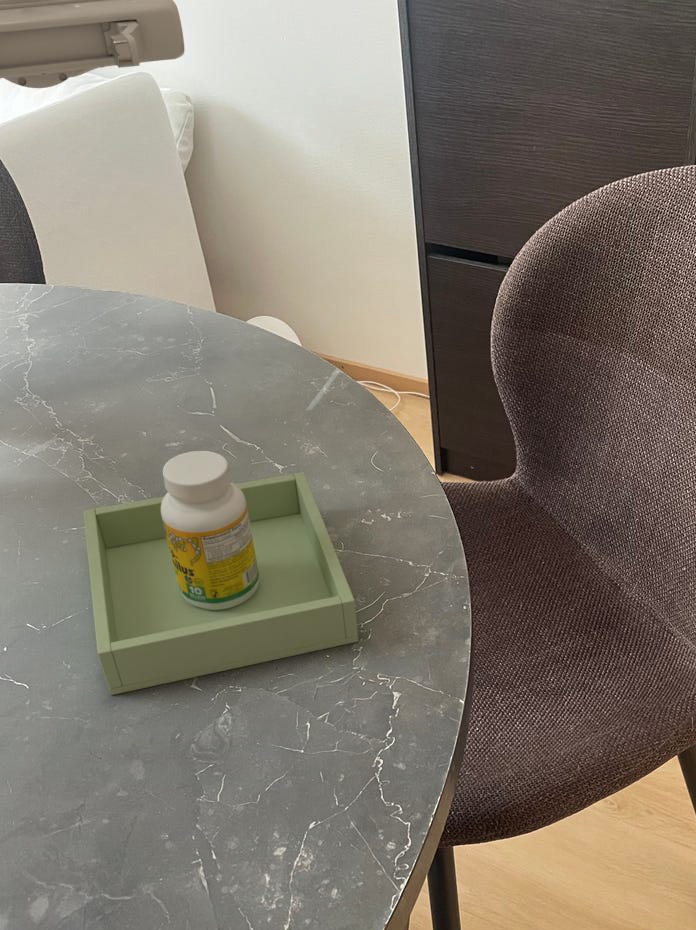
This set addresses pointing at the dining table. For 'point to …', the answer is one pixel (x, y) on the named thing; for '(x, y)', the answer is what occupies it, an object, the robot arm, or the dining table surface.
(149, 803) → the dining table surface
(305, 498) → the tray
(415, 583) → the dining table surface
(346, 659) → the dining table surface
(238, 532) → the supplement bottle
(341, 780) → the dining table surface
